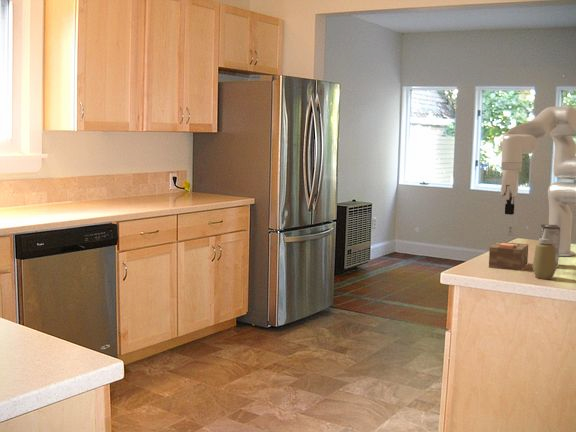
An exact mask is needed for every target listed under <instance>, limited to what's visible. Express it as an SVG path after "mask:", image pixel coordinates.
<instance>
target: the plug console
mask: <svg viewBox="0 0 576 432" xmlns="http://www.w3.org/2000/svg"><path fill="white" fill-rule="evenodd" d="M502 243H506V242H503V241H497V242H496V243H494V244H492V245H491V246H489V256H488V268H491V269H500V268H501V270H502V269H503V270H512V271H522V270H523V269H524V267H526V266H527V265H528V263H529V262H528V259H529V244H527V243H516V242H508V243H509V244H519V245H518V246H515V248H514V249H510V248H500V244H502Z"/></svg>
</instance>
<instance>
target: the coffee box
mask: <svg viewBox="0 0 576 432" xmlns="http://www.w3.org/2000/svg"><path fill="white" fill-rule="evenodd" d="M544 229H548V232H549V238H550V239H552V245H554V246H555V259H556V269H558V268H559V257H560V256H559V242H560V227H559V226H558V225H549V224H545V223H544V224H540V237H539V238H542V236H543V233H544Z"/></svg>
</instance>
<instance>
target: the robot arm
mask: <svg viewBox="0 0 576 432" xmlns="http://www.w3.org/2000/svg"><path fill="white" fill-rule="evenodd" d="M548 135H550V137H551V138H552V139H551V140H552V141H553V144H554V155H553V156H554V158H553V175H554V176H555V177H556V178H557V179H564V180H576V142H575V140H574V139H573V137H576V108H574V107H572V106H549V107H546V108H544V109H543V110H541V111H540V113H538V114H537V115H536V116H535V117H534V118H532V120H530V121H526V122H523V123H521V124H518V125H515V126H514V127H510V129H509V130H507V131H506V132H505V133H504V134H503V136H502V137H501V139H500V141H499V145H500V146H499V148H500V150H501V166H500V167H501V168H500V170H501V171H502V176H501V177H502V178H501V188H500V196H501V197H504V196H505V199H504V200H505V204H504V214H505V215H510V216H512V215H514V214H515V198H516V197H515V196H518V194H519V193H518V192H519V177H520V176H519V175H520V174H519V172H522V168H523V167H522V165H523V154H524V155H529V154H533V153H534V152H536V151H537V149H538V148H539V141H538V140H541V139H543V138H545V137H547V136H548ZM547 198H548V208H549V209H548V225H558V226H559V227H560V242H559V257H573V256H574V255H575V252H574V251H573V250H572V251H571V248H572V247H571V245H572V228H573V224H572V223H573V213H572V210H571V209H570V205H571V206H576V182H571V181H555V182H552V183H550V185H549V186H548V189H547Z"/></svg>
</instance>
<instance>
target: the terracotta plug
mask: <svg viewBox="0 0 576 432" xmlns="http://www.w3.org/2000/svg"><path fill="white" fill-rule="evenodd" d="M508 243H509V242H505V243H502V244H500V248H510V249H514V248H515V244H508Z"/></svg>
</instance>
